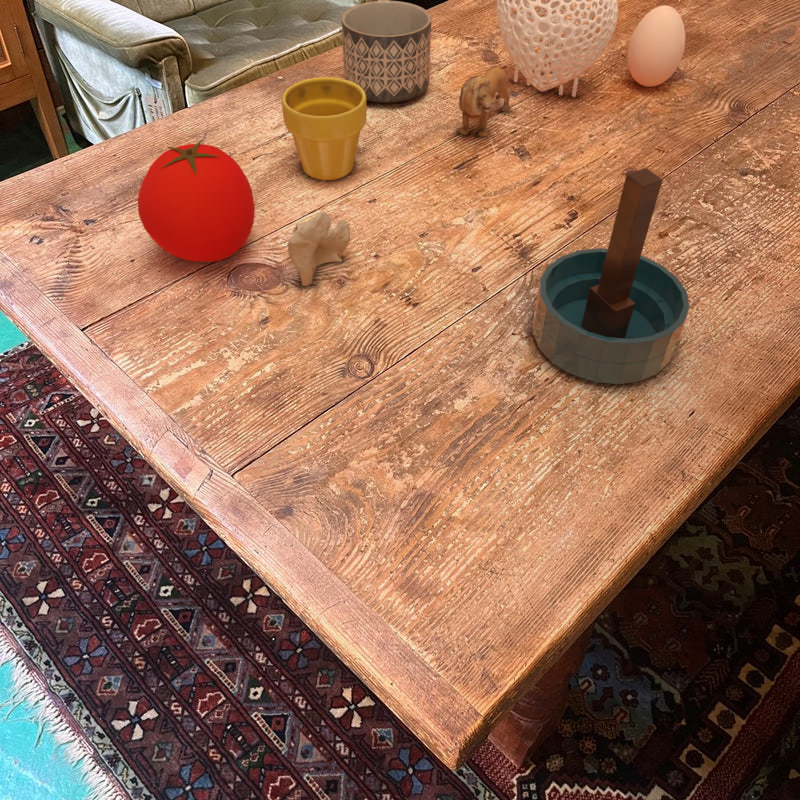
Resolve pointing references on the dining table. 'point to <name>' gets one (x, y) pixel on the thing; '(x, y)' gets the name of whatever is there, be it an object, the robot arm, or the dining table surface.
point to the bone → (317, 244)
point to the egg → (656, 46)
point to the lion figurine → (482, 98)
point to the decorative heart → (555, 38)
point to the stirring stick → (622, 257)
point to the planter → (387, 49)
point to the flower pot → (325, 124)
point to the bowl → (598, 355)
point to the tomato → (197, 203)
